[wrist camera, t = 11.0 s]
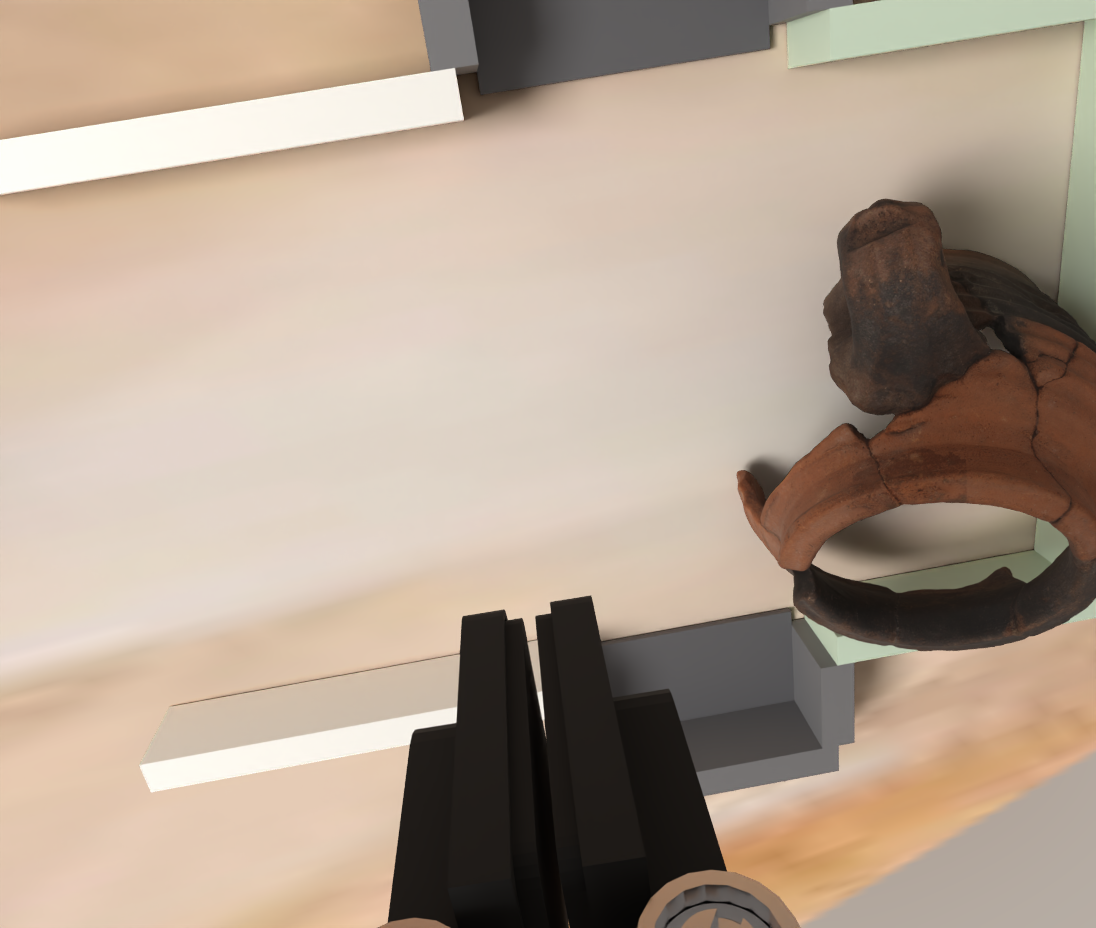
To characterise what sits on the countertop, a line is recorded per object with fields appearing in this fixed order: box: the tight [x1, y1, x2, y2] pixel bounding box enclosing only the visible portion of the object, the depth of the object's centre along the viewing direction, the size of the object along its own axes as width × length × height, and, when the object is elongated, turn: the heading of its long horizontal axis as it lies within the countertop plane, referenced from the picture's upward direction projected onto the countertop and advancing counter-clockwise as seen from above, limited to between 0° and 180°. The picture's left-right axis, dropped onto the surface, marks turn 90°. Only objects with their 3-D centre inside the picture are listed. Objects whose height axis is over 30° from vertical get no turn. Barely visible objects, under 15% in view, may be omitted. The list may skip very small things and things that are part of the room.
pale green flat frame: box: [0, 0, 1096, 796], centre depth 21 cm, size 28×25×2 cm
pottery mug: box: [737, 199, 1096, 651], centre depth 21 cm, size 12×10×8 cm
